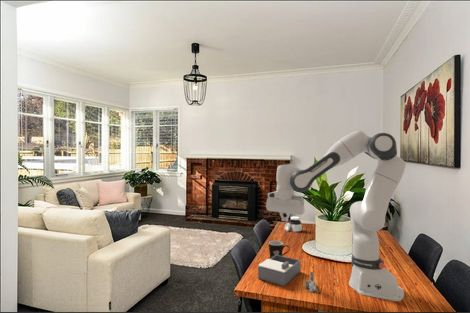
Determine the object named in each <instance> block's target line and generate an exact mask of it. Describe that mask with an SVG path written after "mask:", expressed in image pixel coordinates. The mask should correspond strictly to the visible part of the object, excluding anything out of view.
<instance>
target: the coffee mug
mask: <svg viewBox="0 0 470 313" xmlns="http://www.w3.org/2000/svg"><path fill="white" fill-rule="evenodd" d="M285 247H287V248H288V250H287V251H286V252H284V253H283V251H284V249H285ZM268 251H269V259H270V258H272V257H273V256H275V255H280V256H284V255H286V254H288V253H289V252H290V246H289V245H288V244H287V245H286V244H285V245H284V242H282V241H280V240H270V241H268Z"/></svg>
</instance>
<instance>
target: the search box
mask: <svg viewBox="0 0 470 313" xmlns="http://www.w3.org/2000/svg"><path fill="white" fill-rule="evenodd" d="M269 259H271V260H275V261H279V262H283V263H284V262H286V261H287V262H289V264H291V265H293V266H292V267H291V268H290V269H289V270H287V271H286V272H285V273H282V272H279V271H275V270H271V269H267V268H264V267H260V266H258V265H257V279H258V280H261V281H264V282H267V283H271V284H275V285H278V286H281V287H286V286H287V284H289V283H290V282H291V281H292V280H293V279H294V278H295V277H296V276H297V275H298V274H300V273H301V259H296V258H293V257H289V256H284V255H283V256H280V255H275V256H273V257H272V258H270V257H269Z"/></svg>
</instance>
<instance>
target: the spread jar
mask: <svg viewBox="0 0 470 313" xmlns="http://www.w3.org/2000/svg"><path fill="white" fill-rule="evenodd" d="M302 227H303V226H302V221H301V220H300V217H299V216H294V215H293V216H290V219H289V220H288V222H287V223H285V226H284V229H283V230H286V232H289V231H290V232H293V233H300V232H301V231H302Z"/></svg>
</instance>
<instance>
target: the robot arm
mask: <svg viewBox="0 0 470 313" xmlns="http://www.w3.org/2000/svg"><path fill="white" fill-rule="evenodd" d="M394 137H395V136H392V135H391V134H390V133H387V132H379V133H378V132H377V133H376V134H374V135H373V136H368V134H366V133H365V132H364V131H362V130H357V129H356V130H355V131H352V132H350V133H348V134H346V135H344V136H343V137H341V138H340V139H338V140H337V141H336V142H335V143H334V144H332V145H331V146H330V147H329V148H328V149H327V151H326V152H325V154H324V155H323V156H322V157H321V158H320V159H319V160H317V161H316V162H315V163H313V164H312V165H310V166H309V167H307V168H306V169H302V168H299V167H297V166H295V165H294V164H292V163H283V164H279V165H278V166H277V168H276V177H275V178H276V179H275V181H276V190H275V191H274V190H273V191H272V192H269V193H267V199H266V204H265V205H266V210H267V211H269V212H276V213H279V216H280V217H281V222H287V223H288V222H289V218H290V217H291V215H293V214H294V215H300V216H301V215H303V214H305V213H306V212H305V198H304V197H303V196H301V195H296V194H295V195H294V193H295V192H298V193H304V192H307V191H308V190H309V189H310V188H311V186H312V184H313V183H314V182H315V181H316V180H317V179H318V178H320V177H321V176H322V175H324V174H326V173H327V172H328V171H330V170H331V169H334V168H336V167H338V166H341V165H344V164H347V163H348V162H349V161H351V160H353V159H355V158H356V157H357V156H359V155H361V154H362V153H365V154H366V155H368V156H369V157H370V158H372V159H374V160H377V167H376V168H375V170H374V172H373V174H372V175H371V178H370V179H369V181H368V183H367V185H366V187H365V192H364V197H363V200H359V201H355V202H353V203H352V204H350V207H349V215H350V225H351V233H352V254H351V274H350V278H349V281H348V285H349V286H350V287H351V288H352V289H353V290H354V291H356V292H357V293H358V294H359V295H361V296H365V297H371V298H377V299H382V300H387V301H392V302H401V301H402V300H403V299H404V298H405V291H404V289H403V288H402V287H401V286H400V285H399V283H398V281H397V277H396V276H395V275H394V274H393V273H391V272H390V271H389V270H388V269H387V268H385V262H384V259H381V258H380V241H379V236H378V233H377V232H378V231H381V229H383V228H384V227H385V223H386V214H387V212H388V211H387V210H388V208H389V204H390V201H391V200H392V196H393V195H394V194H395V191H396V189H397V187H398V185H399V183H400V182H401V180H402V177H403V175H404V173H405V170H406V162H405V160H404V159H403V158H401V157H400V156H398V148H397V141H396V138H394ZM294 191H295V192H294ZM284 214H285V215H286V216H284Z"/></svg>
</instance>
